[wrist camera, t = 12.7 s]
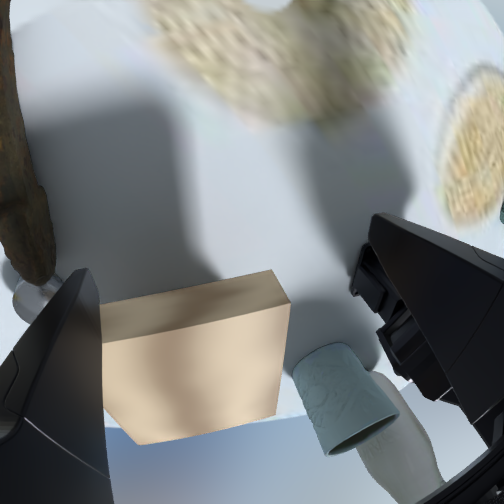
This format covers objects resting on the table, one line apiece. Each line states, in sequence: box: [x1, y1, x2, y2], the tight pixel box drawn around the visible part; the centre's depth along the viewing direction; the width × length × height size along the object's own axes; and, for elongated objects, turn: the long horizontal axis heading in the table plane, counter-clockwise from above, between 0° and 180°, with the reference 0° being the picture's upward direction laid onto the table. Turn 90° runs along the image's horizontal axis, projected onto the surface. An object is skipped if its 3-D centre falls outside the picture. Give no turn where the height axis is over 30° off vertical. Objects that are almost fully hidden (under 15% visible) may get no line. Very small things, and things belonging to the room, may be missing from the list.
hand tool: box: [0, 0, 56, 286], centre depth 12 cm, size 19×4×5 cm, turn 0°
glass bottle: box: [356, 371, 446, 504], centre depth 37 cm, size 10×10×28 cm
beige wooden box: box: [100, 270, 291, 445], centre depth 21 cm, size 11×13×10 cm
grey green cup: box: [292, 343, 400, 457], centre depth 35 cm, size 10×10×12 cm
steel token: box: [13, 274, 64, 324], centre depth 20 cm, size 4×4×2 cm
